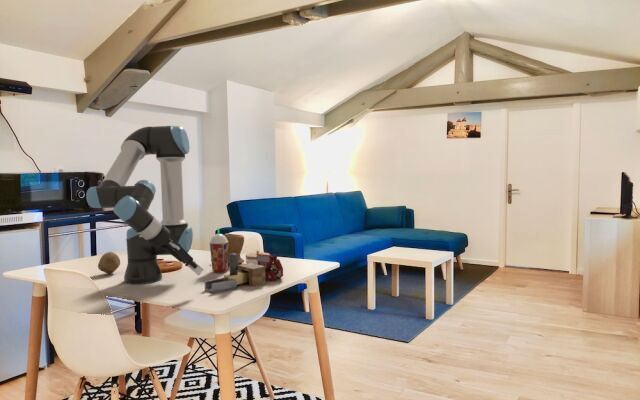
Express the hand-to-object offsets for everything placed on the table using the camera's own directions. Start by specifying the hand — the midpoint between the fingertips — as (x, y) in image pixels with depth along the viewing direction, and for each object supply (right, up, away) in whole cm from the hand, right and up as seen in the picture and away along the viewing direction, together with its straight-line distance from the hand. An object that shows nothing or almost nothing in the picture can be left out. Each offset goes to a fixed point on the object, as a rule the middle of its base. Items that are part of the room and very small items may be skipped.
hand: (200, 272), depth 172 cm
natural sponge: (-51, -7, +39) cm, 65 cm away
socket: (+17, -7, +15) cm, 24 cm away
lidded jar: (+17, -6, +36) cm, 40 cm away
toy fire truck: (+24, -6, +21) cm, 32 cm away
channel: (+6, -8, +6) cm, 12 cm away
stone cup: (0, -5, +56) cm, 57 cm away
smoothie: (-1, -6, +38) cm, 39 cm away
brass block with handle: (+13, -6, +12) cm, 18 cm away
